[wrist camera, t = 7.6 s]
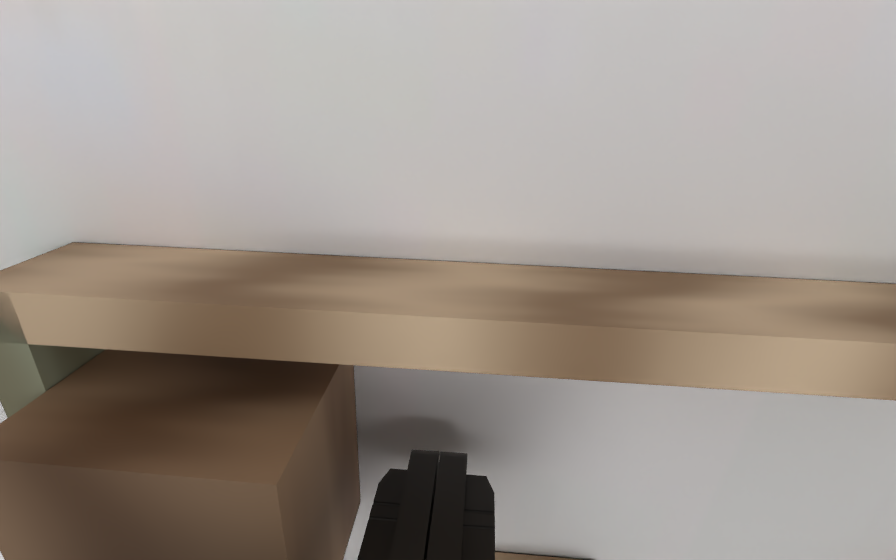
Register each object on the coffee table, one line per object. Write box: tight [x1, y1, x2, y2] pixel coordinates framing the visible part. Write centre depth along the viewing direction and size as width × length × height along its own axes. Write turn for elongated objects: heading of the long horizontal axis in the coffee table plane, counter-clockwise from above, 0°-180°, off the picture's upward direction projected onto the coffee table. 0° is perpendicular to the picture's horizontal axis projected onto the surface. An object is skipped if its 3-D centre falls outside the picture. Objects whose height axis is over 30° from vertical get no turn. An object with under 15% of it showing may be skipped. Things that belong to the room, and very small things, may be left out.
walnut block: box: [0, 349, 360, 560], centre depth 12 cm, size 6×6×5 cm
